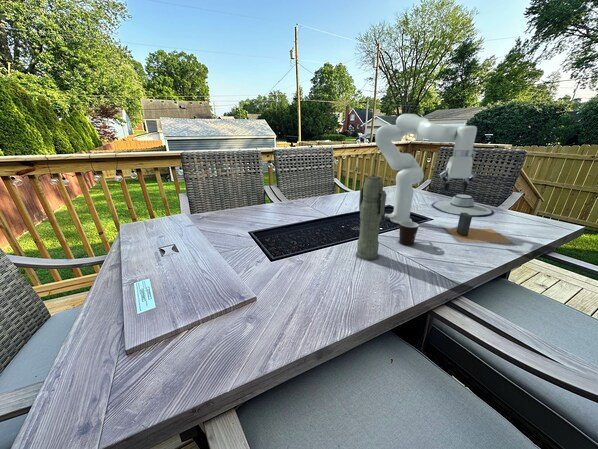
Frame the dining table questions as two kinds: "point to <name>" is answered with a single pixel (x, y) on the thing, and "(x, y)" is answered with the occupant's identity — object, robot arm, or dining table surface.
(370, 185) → the thermos
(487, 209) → the sun hat
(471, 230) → the cork mat
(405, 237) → the coffee mug
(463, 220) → the block
